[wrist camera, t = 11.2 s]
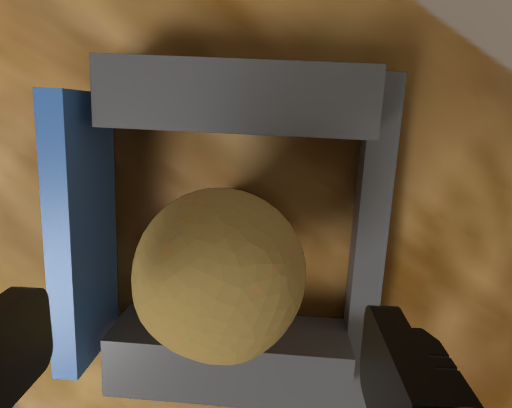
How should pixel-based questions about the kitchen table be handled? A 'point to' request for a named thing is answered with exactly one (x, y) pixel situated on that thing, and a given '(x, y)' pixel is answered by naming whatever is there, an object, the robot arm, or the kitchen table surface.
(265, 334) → the light bulb
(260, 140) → the kitchen table surface
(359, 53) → the kitchen table surface
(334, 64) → the gray e-shaped frame
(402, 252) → the kitchen table surface
